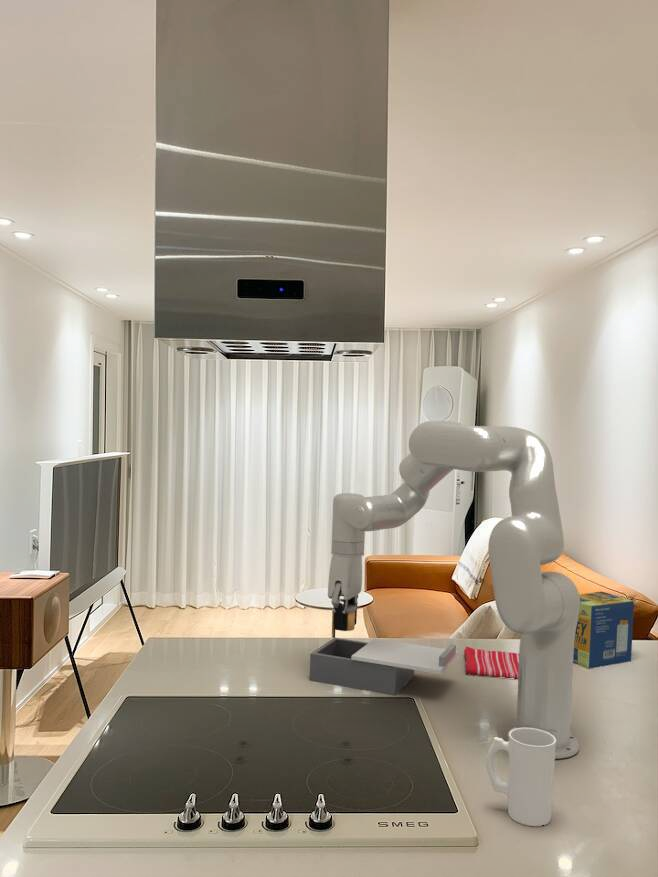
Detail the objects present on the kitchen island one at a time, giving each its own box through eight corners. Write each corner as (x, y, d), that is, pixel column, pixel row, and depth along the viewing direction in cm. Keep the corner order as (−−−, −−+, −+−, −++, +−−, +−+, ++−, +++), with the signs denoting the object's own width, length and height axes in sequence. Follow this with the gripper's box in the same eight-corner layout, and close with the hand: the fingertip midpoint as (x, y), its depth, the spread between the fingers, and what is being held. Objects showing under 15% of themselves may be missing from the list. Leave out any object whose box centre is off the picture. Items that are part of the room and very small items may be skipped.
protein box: (556, 656, 192) (558, 596, 192) (599, 649, 200) (602, 591, 199) (588, 669, 183) (590, 605, 183) (632, 661, 190) (635, 600, 190)
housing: (394, 695, 162) (395, 667, 162) (309, 680, 170) (310, 653, 169) (413, 675, 175) (414, 649, 174) (333, 662, 182) (334, 637, 182)
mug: (555, 810, 116) (558, 732, 115) (550, 832, 109) (553, 749, 109) (488, 796, 119) (491, 720, 119) (480, 816, 113) (483, 736, 113)
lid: (441, 674, 157) (441, 660, 157) (351, 659, 165) (351, 646, 165) (458, 654, 171) (458, 642, 171) (374, 641, 179) (374, 630, 179)
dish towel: (463, 655, 193) (464, 644, 193) (560, 663, 189) (560, 652, 189) (463, 677, 176) (463, 666, 176) (569, 687, 172) (569, 675, 172)
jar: (330, 629, 172) (331, 607, 172) (338, 624, 177) (339, 602, 177) (351, 632, 170) (351, 610, 170) (358, 627, 175) (359, 605, 175)
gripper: (346, 541, 182) (343, 616, 183) (317, 551, 167) (314, 634, 167) (375, 544, 179) (373, 620, 180) (349, 555, 164) (346, 639, 164)
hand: (345, 626), depth 174 cm, fingers closed on jar, 4 cm apart
